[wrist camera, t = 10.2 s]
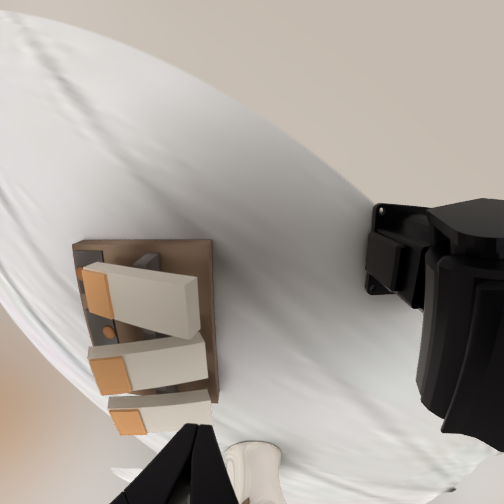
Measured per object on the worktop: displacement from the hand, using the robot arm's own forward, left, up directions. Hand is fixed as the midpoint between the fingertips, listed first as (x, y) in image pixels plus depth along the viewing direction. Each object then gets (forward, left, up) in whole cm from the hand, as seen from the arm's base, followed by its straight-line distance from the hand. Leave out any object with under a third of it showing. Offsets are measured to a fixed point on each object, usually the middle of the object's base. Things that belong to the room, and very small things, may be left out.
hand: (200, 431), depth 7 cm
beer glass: (-2, +20, -12) cm, 24 cm away
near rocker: (+4, -1, -7) cm, 8 cm away
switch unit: (+6, +3, -12) cm, 14 cm away
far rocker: (+4, +8, -7) cm, 11 cm away
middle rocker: (+4, +3, -7) cm, 9 cm away
